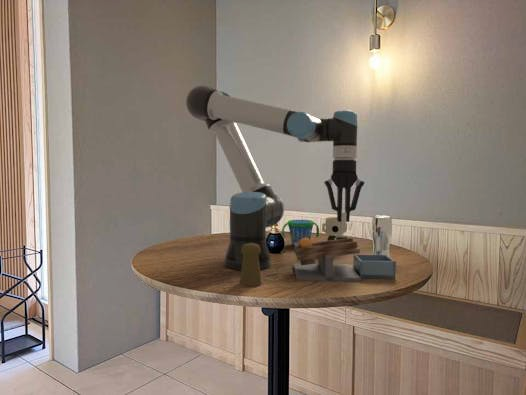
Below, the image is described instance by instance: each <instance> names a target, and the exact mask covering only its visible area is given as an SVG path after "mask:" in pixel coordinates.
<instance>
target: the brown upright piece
mask: <svg viewBox="0 0 526 395" xmlns="http://www.w3.org/2000/svg"><path fill="white" fill-rule="evenodd" d="M260 251H261V249H260V246H259V245H258V244H254V243H248V244H244V245H243V246H242V249H241V252H242V254H243V262H242V269H241V270H240V277H239V278H240V279H239V283H240V284H241V285H240V284H239V285H240V286H242V285H244V286H243V287H246V286H255V287H259V285H260V286H261V285H262V276H261V269H260V266H259V257H258V256H259V254H260Z"/></svg>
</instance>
